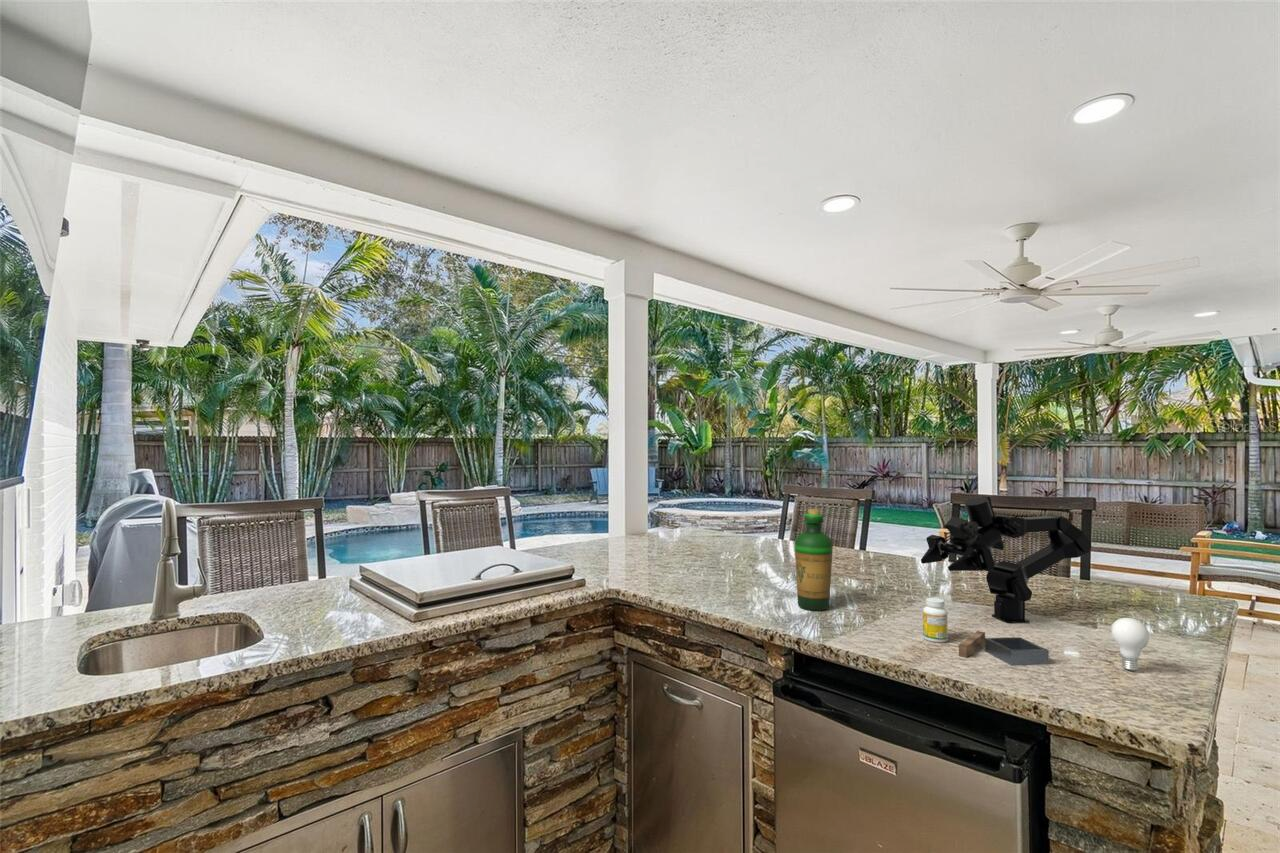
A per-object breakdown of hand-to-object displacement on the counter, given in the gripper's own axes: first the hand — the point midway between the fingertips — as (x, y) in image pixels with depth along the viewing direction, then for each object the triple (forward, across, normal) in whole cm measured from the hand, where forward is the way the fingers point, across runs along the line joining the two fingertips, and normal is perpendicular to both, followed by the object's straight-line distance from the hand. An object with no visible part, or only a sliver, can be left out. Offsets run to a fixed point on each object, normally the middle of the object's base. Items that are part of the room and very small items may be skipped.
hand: (934, 565), depth 157 cm
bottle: (+24, -25, +8) cm, 36 cm away
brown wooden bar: (+10, +15, +14) cm, 23 cm away
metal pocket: (+5, +22, +15) cm, 28 cm away
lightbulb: (-10, +35, +22) cm, 43 cm away
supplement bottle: (+12, +7, +13) cm, 19 cm away
